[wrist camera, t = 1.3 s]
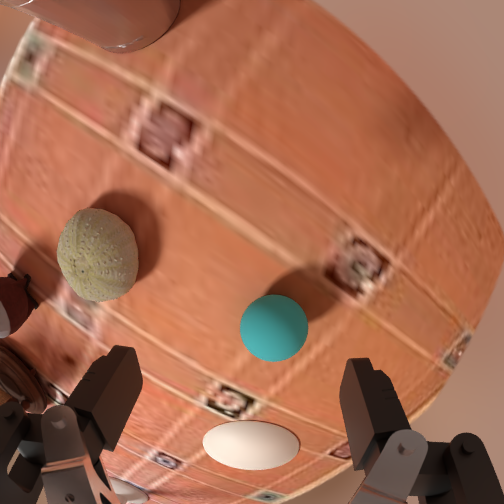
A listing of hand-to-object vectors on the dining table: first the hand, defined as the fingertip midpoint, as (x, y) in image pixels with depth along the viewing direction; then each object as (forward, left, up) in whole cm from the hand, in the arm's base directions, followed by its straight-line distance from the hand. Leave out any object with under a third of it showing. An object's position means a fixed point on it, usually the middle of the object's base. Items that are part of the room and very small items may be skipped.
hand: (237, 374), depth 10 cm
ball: (+7, +2, -14) cm, 16 cm away
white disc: (+31, -1, -17) cm, 36 cm away
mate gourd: (+7, -30, -17) cm, 36 cm away
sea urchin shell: (+1, -15, -18) cm, 23 cm away
